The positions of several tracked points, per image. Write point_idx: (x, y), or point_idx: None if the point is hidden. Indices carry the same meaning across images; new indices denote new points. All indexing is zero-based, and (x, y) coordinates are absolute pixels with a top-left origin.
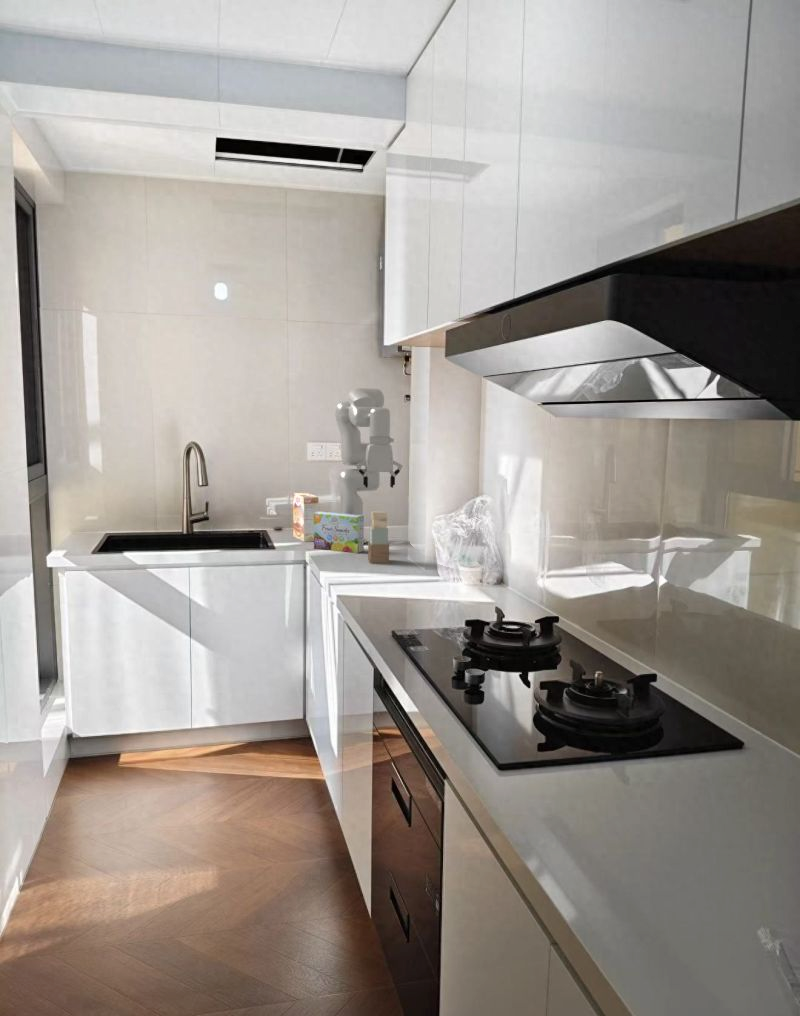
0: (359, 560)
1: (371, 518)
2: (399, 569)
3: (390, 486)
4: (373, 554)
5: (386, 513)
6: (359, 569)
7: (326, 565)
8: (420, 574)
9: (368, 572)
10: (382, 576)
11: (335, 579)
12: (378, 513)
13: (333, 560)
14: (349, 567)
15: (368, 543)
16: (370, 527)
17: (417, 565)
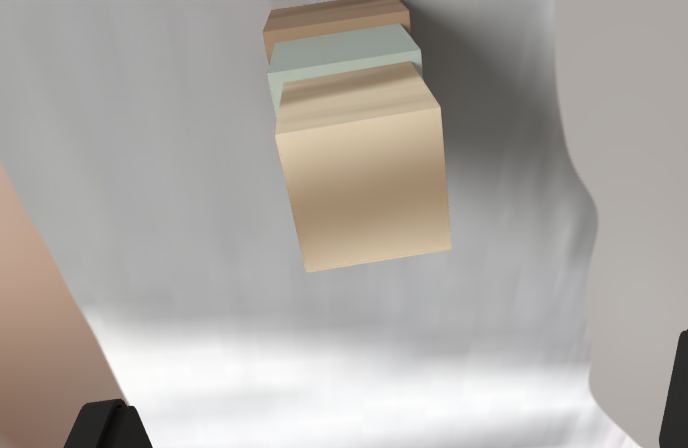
0: (216, 26)
1: (279, 108)
2: (443, 261)
3: (678, 355)
4: None
5: (447, 247)
6: (246, 273)
7: (50, 190)
8: (522, 349)
9: (294, 329)
10: (357, 390)
11: (172, 445)
12: (359, 260)
13: (45, 35)
14: (188, 232)
15: (266, 49)
16: (276, 116)
17: (554, 161)
